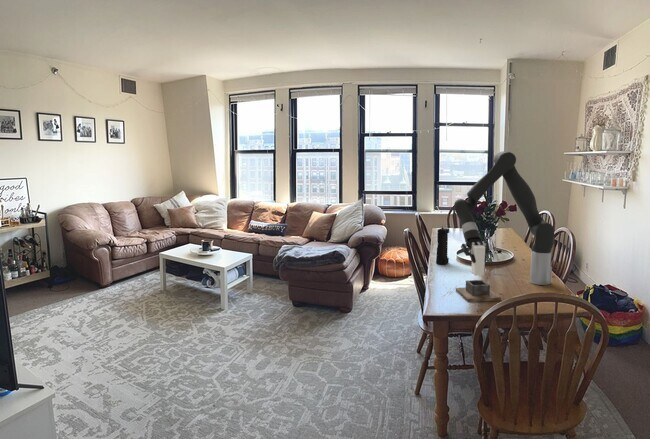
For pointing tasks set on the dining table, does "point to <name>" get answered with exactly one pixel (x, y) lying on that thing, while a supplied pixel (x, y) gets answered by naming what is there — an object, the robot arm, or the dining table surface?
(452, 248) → the dining table surface
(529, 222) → the robot arm
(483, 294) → the square socket base
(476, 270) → the plug block
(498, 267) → the dining table surface
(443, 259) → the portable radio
